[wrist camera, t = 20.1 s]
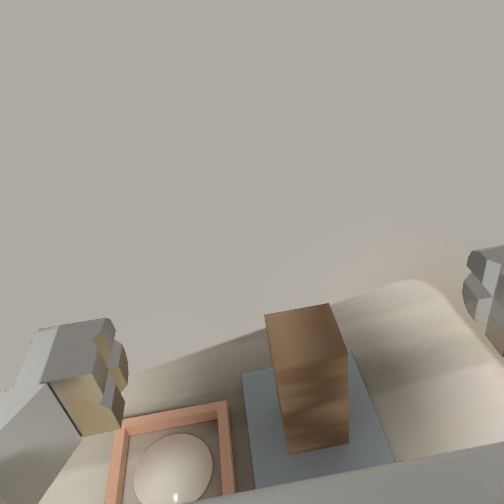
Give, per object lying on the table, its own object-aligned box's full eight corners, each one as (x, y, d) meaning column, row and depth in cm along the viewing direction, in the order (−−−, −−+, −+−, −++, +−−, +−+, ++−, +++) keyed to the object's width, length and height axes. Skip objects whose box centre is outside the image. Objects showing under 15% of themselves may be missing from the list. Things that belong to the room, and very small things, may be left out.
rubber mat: (260, 519, 30) (258, 515, 30) (242, 377, 40) (241, 372, 39) (405, 491, 30) (406, 487, 30) (352, 356, 40) (351, 352, 40)
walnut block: (288, 455, 33) (274, 366, 27) (278, 403, 36) (264, 315, 31) (349, 443, 33) (347, 352, 27) (332, 393, 36) (328, 303, 31)
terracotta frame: (104, 550, 30) (98, 542, 29) (121, 428, 37) (116, 420, 36) (238, 524, 30) (235, 516, 29) (228, 408, 37) (226, 399, 37)
